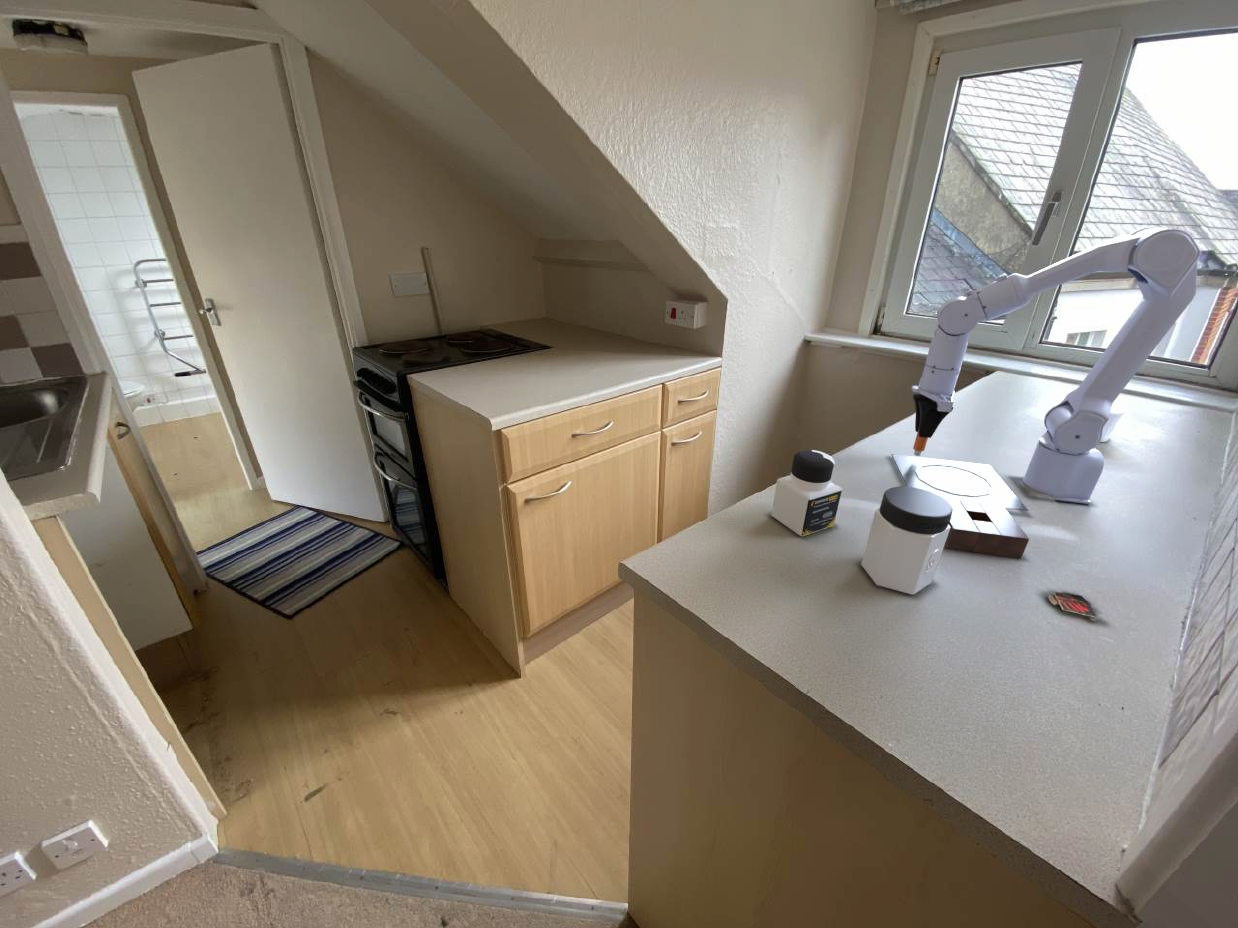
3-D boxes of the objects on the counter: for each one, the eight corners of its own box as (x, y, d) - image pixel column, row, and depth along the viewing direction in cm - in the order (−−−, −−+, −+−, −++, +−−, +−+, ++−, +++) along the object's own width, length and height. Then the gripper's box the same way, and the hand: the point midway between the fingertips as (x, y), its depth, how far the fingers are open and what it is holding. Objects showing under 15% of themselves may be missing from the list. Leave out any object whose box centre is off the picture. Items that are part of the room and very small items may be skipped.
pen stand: (995, 523, 87) (1003, 504, 85) (1021, 558, 78) (1029, 539, 76) (929, 514, 89) (935, 496, 87) (946, 548, 80) (953, 528, 79)
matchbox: (1079, 595, 71) (1080, 592, 70) (1105, 622, 66) (1107, 619, 66) (1041, 591, 71) (1042, 589, 71) (1065, 618, 67) (1066, 615, 66)
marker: (921, 453, 105) (935, 406, 101) (923, 457, 104) (938, 409, 99) (910, 452, 106) (923, 405, 101) (912, 456, 104) (926, 408, 100)
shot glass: (1078, 439, 118) (1090, 410, 115) (1067, 429, 124) (1079, 400, 121) (1116, 445, 116) (1130, 415, 113) (1103, 433, 122) (1117, 405, 119)
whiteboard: (988, 469, 105) (990, 464, 104) (1026, 515, 89) (1029, 510, 88) (890, 458, 108) (891, 453, 108) (910, 501, 93) (912, 495, 92)
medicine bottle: (801, 537, 82) (815, 469, 77) (770, 515, 88) (780, 450, 82) (834, 526, 85) (850, 459, 80) (801, 506, 91) (814, 442, 85)
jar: (904, 602, 69) (930, 525, 64) (850, 569, 75) (869, 496, 70) (941, 579, 73) (967, 505, 68) (886, 550, 79) (907, 479, 74)
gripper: (909, 354, 104) (893, 418, 110) (929, 375, 91) (909, 446, 97) (949, 357, 102) (930, 422, 108) (974, 378, 90) (951, 451, 96)
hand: (922, 434), depth 103 cm, fingers closed on marker, 2 cm apart
